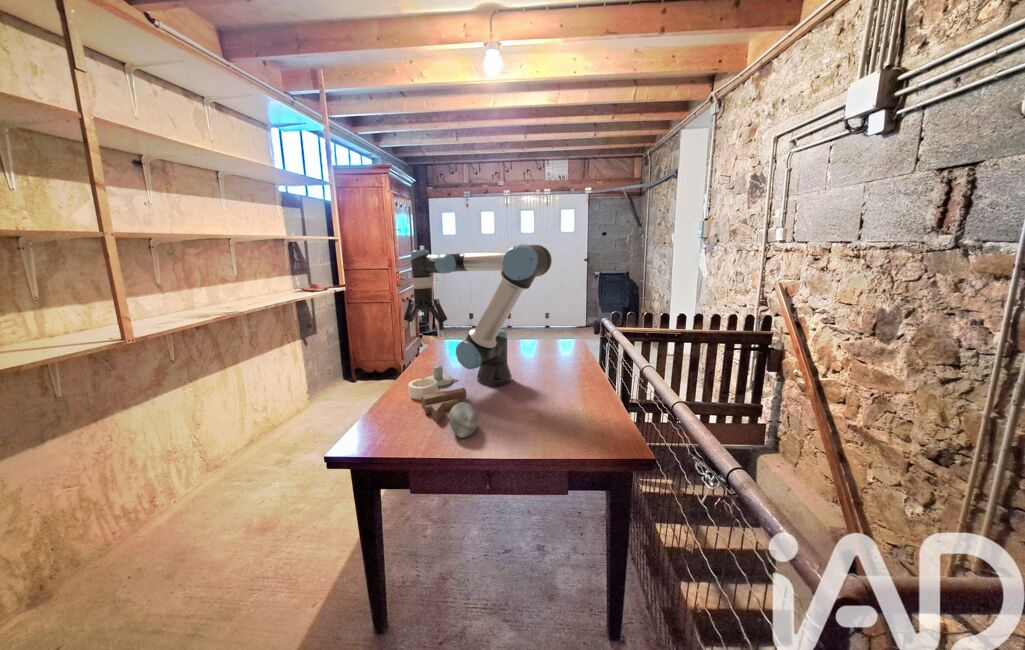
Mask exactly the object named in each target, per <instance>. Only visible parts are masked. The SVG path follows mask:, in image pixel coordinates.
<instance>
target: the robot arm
mask: <svg viewBox="0 0 1025 650" xmlns="http://www.w3.org/2000/svg"><path fill="white" fill-rule="evenodd" d="M552 259H553V258H552V255H551V253H550V251H549V250H548V249H547V248H546V247H545V246H543V245H540V244H517V245H515V246H512V247H510V248H509V249H508V250H507V251H491V252H490V251H487V252H467V253H466V252H462V253H460V252H459V253H441V254H440V253H439V254H430V251H429V250H428V249H421V250H412V251H410V264H411V275H412V285H413V286H412V287H413V288H414V289H413V297H414V298H409V299H408V304H407V307H406V311H405V313H404V316H403V321H407V323H408V325H407V326H408V329H409V332H410V337H415V336H416V337H417V334H416V333H417V331H416V322H415V320H414V319H415V317H416V316H417V315H418V313H419V311H420V310H421V311H422V310H424V311H429V312H430V313H431V315H432V316H433V317H434V318H435V319H436V321H437V322H436V332H437V339H441V338H443V337H444V336H443V330H444V329H445V328H444V327H445V326H444V322H446V321H448V318H447V315H446V313H445V311H444V309H443V308H442V306H441V303H440V299H439V298H435V299H433V287H432V274H442V275H443V274H450V273H455V272H494V271H495V272H496V271H497V272H499V271H500V275H501V278H502V279H501V281H500V283H499V285H498V286H497V288H496V290H495V292H494V294H493V296H492V298H491V299H490V301H489V303H488V305H487V306H486V309H485V311H484V312H483V314H482V317H481V318H480V320H479V322H478V323H477V326H476V327H475V328H471V329H470V331H469V332H468V334H467V336H466V337H465V339H464V340H461V341H460V342H459V343H458V344H457V345H456V347H455V355H456V358H457V361H458V363H459V364H460V365H461V366H462V367H463V368H465V369H466V370H467V369H468V370H474V369H478V371H477V375H476V382H477V383H478V384H480V385H483V386H486V387H502V386H505V385H509V384H510V383H511V382H512V378H513V377H512V373H511V369H510V368H509V364H508V334H507V331H506V330H505V329H503V328H502V327H503V326H504V324H505V322H506V320H507V319H508V318H509V315H510V314H511V312H512V310H513V308H514V307H515V305H516V303H517V301H518V300H519V298H520V296H521V295H522V293H523V292H524V290H525V291H526V290H528V289H530V288H531V285H532V284H533V282H534V280H535V279H536V277H537V278H539V277H541V276H543V275H546V274H547V272H549V270H550V268H551V266H552V261H553V260H552ZM414 305H415V306H414Z"/></svg>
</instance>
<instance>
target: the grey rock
mask: <svg viewBox="0 0 1025 650" xmlns="http://www.w3.org/2000/svg"><path fill="white" fill-rule="evenodd" d="M448 418H449V424H450V428H451V429H452V432H453V433H454V434H455V435H456V437H458V438H462V439H464V438H465V439H466V438H468V437H470V436H472V434H474V432H475V431H476V430H477V429H478V425H479V419H478V414H477V412H476V411H475V409H474V408H473V406H472V405H471V404H470V403H468V402H465V401H463V402H459V403H458V404H456V405H455V406H453V408H452V409H451V410H449V415H448Z"/></svg>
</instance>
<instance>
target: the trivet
mask: <svg viewBox="0 0 1025 650" xmlns="http://www.w3.org/2000/svg"><path fill="white" fill-rule="evenodd" d="M460 381H461V380H460V379H455V378H452V383H451V384H449V385H447V386H443V387H438V391H441V390H442V389H444V388H446V387H448V386H451V385H453V384H455V383H457V382H460Z"/></svg>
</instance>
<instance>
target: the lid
mask: <svg viewBox="0 0 1025 650" xmlns="http://www.w3.org/2000/svg"><path fill="white" fill-rule="evenodd" d="M443 371H444V370H443V365H437V364H436V365H433V366H432V374H431V375H428V376H426V377H425V378H430V379H435V380H436V381H437V384H438V387H443V386H447V385H449V384H451V383H452V379H453V377H452V375H449V374H444V372H443ZM451 385H452V384H451ZM449 386H450V385H449ZM447 387H448V386H447Z"/></svg>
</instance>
